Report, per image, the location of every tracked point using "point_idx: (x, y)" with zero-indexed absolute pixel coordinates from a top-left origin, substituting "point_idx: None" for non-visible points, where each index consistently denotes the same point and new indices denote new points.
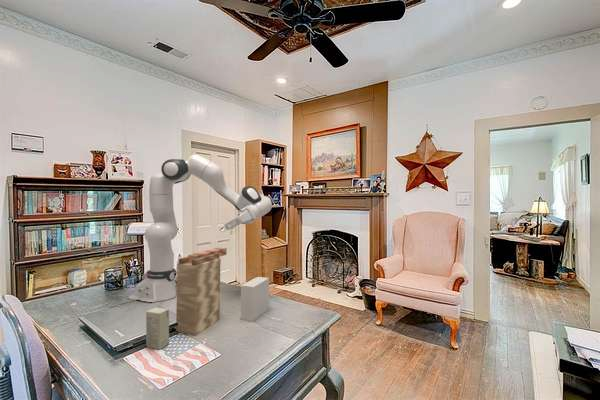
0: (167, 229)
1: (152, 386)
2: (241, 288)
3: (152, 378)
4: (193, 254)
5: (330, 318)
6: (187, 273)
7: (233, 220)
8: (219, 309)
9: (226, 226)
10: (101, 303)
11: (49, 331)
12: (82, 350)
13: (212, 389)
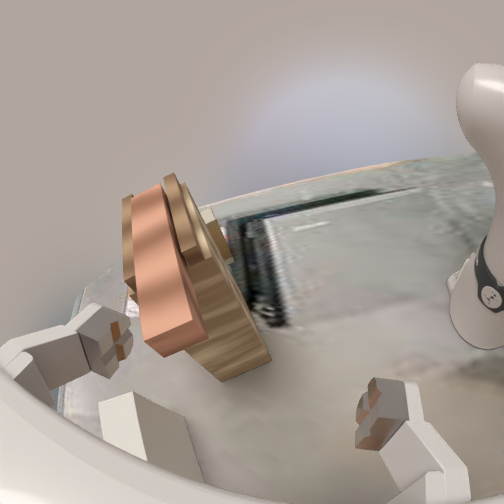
0: (502, 107)
1: None
2: (136, 394)
3: None
4: (153, 194)
5: None
6: None
7: (28, 393)
8: (210, 372)
9: (123, 317)
10: (479, 211)
11: (377, 167)
12: (283, 194)
13: (97, 282)
